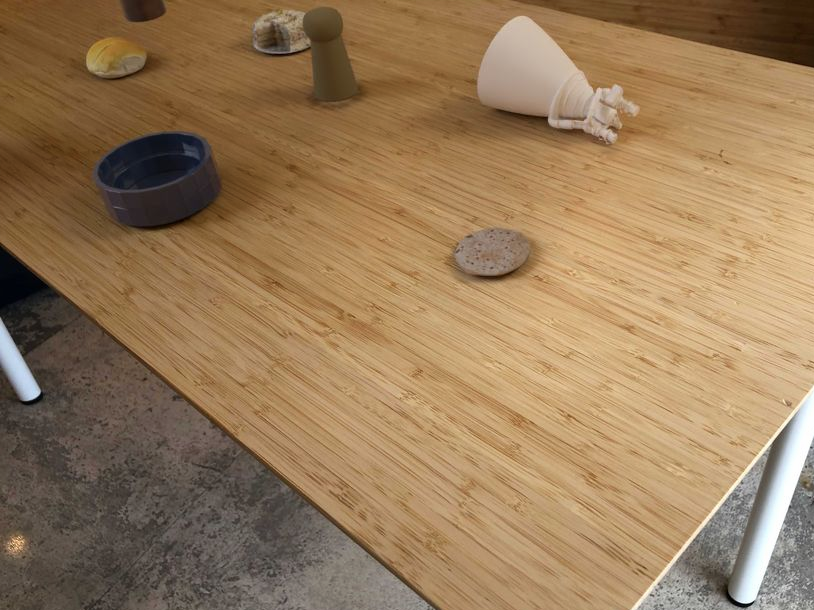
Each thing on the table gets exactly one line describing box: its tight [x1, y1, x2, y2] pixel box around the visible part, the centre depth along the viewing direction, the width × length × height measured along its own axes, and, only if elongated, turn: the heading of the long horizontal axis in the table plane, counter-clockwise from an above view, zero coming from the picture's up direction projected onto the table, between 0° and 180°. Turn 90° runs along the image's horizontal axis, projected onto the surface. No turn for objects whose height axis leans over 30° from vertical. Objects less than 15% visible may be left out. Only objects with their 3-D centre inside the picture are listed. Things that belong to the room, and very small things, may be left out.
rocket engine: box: [476, 15, 641, 145], centre depth 102 cm, size 12×12×18 cm
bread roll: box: [85, 36, 148, 80], centre depth 126 cm, size 8×9×4 cm
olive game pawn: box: [303, 6, 359, 102], centre depth 112 cm, size 6×6×11 cm
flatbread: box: [454, 226, 532, 277], centre depth 86 cm, size 8×8×1 cm
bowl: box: [91, 130, 222, 227], centre depth 98 cm, size 13×13×5 cm
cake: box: [251, 8, 311, 55], centre depth 128 cm, size 10×10×5 cm
